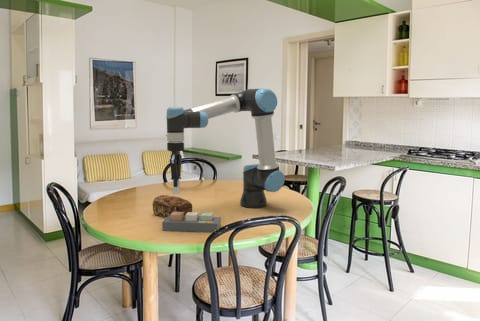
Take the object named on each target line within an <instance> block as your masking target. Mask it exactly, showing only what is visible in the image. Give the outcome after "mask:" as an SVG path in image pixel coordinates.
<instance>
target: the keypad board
mask: <svg viewBox="0 0 480 321" xmlns="http://www.w3.org/2000/svg"><path fill="white" fill-rule="evenodd" d="M198 218H199V219H198V221H186V216H184V219H183V220H182V221H170V215H168V217H167V218H165V219H164V220H163V221H162V222H161V226H162V232H163V231H164V232H190V233H193V232H194V233H195V232H197V233H215V232H214V231H215V230H217V229H219V230H220V227H221V225H222V224H221V222H222V221H221V216H213V221H207V222H206V221H201V215H198Z"/></svg>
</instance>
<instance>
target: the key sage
mask: <svg viewBox="0 0 480 321" xmlns="http://www.w3.org/2000/svg"><path fill="white" fill-rule="evenodd" d="M200 216H201V221H206V222H207V221H213V217H214V212H202V213H201V215H200Z"/></svg>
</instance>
